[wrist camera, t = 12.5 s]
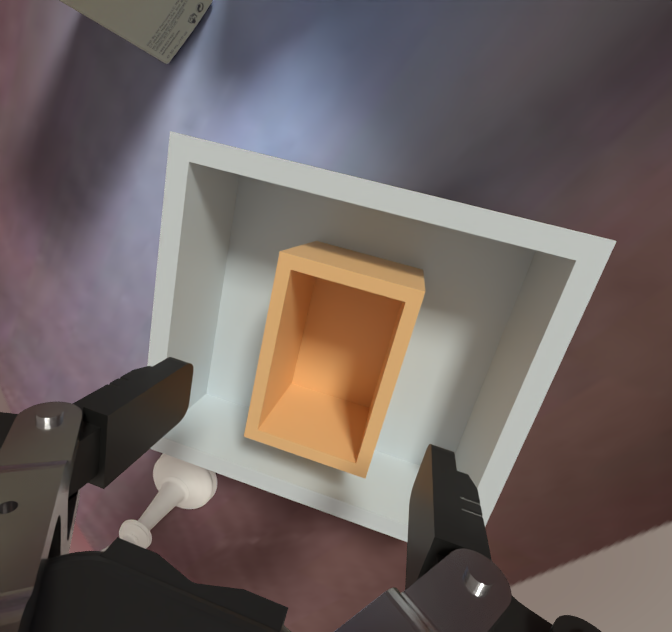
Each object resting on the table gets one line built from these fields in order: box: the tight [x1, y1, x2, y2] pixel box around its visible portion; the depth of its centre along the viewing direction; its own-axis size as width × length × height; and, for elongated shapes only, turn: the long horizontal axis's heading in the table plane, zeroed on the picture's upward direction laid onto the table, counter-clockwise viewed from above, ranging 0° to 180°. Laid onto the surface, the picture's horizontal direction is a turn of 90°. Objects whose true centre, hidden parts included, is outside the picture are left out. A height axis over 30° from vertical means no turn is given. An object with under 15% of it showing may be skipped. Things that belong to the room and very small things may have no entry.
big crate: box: [147, 131, 616, 542], centre depth 20 cm, size 18×16×6 cm
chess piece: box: [101, 454, 217, 551], centre depth 24 cm, size 5×5×10 cm
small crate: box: [244, 241, 425, 479], centre depth 19 cm, size 6×9×6 cm, turn 166°
